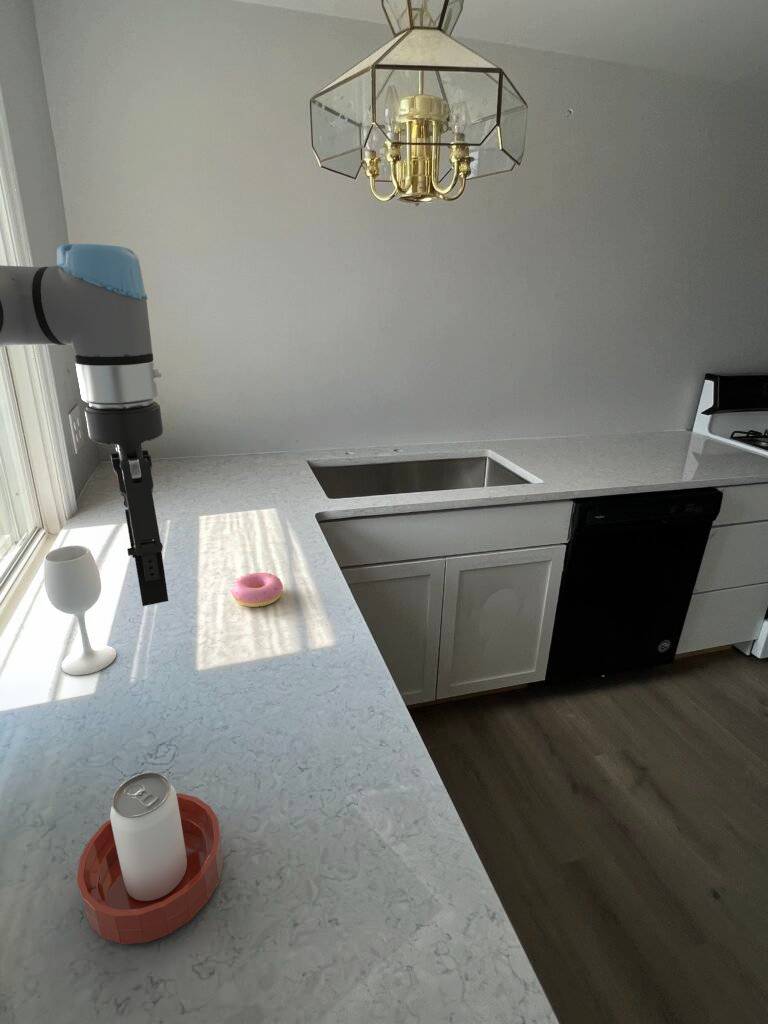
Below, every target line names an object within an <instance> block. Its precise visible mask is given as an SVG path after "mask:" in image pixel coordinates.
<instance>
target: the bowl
mask: <svg viewBox="0 0 768 1024" xmlns="http://www.w3.org/2000/svg"><path fill="white" fill-rule="evenodd" d="M176 795H177V801H178V806H179V812H180V819H181V825H182V831H183V838H184V844H185V851H186V858H187V868H186V872H185V874H184V877H183V878H182V880H181V881H180V883H179V884H178V885H177V886H176V887H175V888H174V889H173V890H172V891H171V892H170V893H168V894H167V895H165V896H163V897H161V898H159V899H156V900H151V901H140V900H137V899H134V898H133V897H131V896H130V895H129V894H128V892H127V890H126V887H125V884H124V880H123V875H122V871H121V866H120V862H119V857H118V853H117V848H116V844H115V839H114V834H113V830H112V825H111V819H110V818H108V819H107V820H106V821H104V822H103V823H102V824H101V826H100V827H99V828H98V829H97V830H96V832H95V833H94V834H93V835H92V836H91V837H90V838H89V840H88V842H87V844H86V846H85V848H84V849H83V851H82V853H81V856H80V858H79V860H78V867H77V873H76V882H77V886H78V890H79V894H80V898H81V903H82V905H83V910H84V913H85V916H86V919H87V923H88V925H89V926H90V927H91V928H92V929H93V930H94V931H95V933H96V934H98V936H100V937H101V938H102V939H104V940H107V941H110V942H114V943H116V944H119V945H130V944H133V945H134V944H146V943H149V942H152V941H155V940H157V939H160V938H163V937H166V936H169V935H170V934H172V933H174V932H175V931H176V930H178V929H179V928H181V927H183V926H184V925H186V924H187V923H189V922H190V921H191V920H192V919H193V918H195V916H196V915H197V914H198V913H199V912H200V911H201V910H202V909H203V908H204V907H205V905H206V904H207V903H208V902H209V900H210V899H211V897H212V895H213V894H214V891H215V890H216V888H217V886H218V885H219V882H220V879H221V876H222V869H223V866H224V855H223V847H222V840H221V833H220V824H219V819H218V817H217V815H216V813H215V812H214V811H213V809H212V807H211V806H210V805H208V803H206V802H205V801H203V800H201V799H200V798H198V797H197V796H193V795H190V794H185V793H182V792H178V793H177V792H176Z"/></svg>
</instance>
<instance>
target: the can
mask: <svg viewBox="0 0 768 1024" xmlns="http://www.w3.org/2000/svg"><path fill="white" fill-rule="evenodd" d="M176 793H177V792H176V789H175V787H174V786H173V784H171V781H170V779H169V778H168V777H167V776H166V775H165V774H163V773H160V772H157V771H146V772H141V773H138V774H136V775H134V776H131V777H129V778H128V779H126V780H125V781H124V782H123V783H121V785H120V786H118V787H117V788H116V790H115V792H114V794H113V796H112V799H111V800H112V801H111V808H110V813H109V819H111V825H112V830H113V834H114V839H115V844H116V848H117V853H118V857H119V862H120V866H121V871H122V875H123V880H124V884H125V887H126V890H127V892H128V894H129V895H130V896H131V897H133V898H134V899H137V900H140V901H151V900H156V899H159V898H161V897H163V896H165V895H167V894H168V893H170V892H171V891H172V890H173V889H174V888H175V887H176V886H177V885H178V884H179V883H180V881H181V880H182V878H183V877H184V874H185V872H186V868H187V858H186V851H185V844H184V838H183V831H182V825H181V819H180V812H179V806H178V801H177V795H176Z"/></svg>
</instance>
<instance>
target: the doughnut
mask: <svg viewBox="0 0 768 1024" xmlns="http://www.w3.org/2000/svg"><path fill="white" fill-rule="evenodd" d="M283 590H284V585H283V582H282V581H281V578H279V577H278V576H277V575H275V574H272V573H268V572H253V573H246V574H245V575H243V576H240V577H239V578H236V580H235V581H234V582H233V585H232V587H231V590H230V592H231V595H232V599H233V600H234V601H235V602H236V603H237V604H239V605H241V606H244V607H248V608H259V606H260V607H265V606H268V605H272V604H273V603H274V602H276V601H278V599H280V597H281V596H282V594H283Z"/></svg>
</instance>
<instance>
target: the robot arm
mask: <svg viewBox="0 0 768 1024" xmlns="http://www.w3.org/2000/svg"><path fill="white" fill-rule="evenodd" d="M55 263H56V265H50V266H25V265H24V266H23V265H1V264H0V348H2V347H10V346H51V345H52V346H55V345H57V346H70V345H71V346H72V349H73V353H74V358H75V368H76V375H77V379H78V385H79V390H80V396H81V400H82V401H83V402H85V403H87V404H88V405H87V406H86V407H85V408H84V415H85V420H86V426H87V433H88V437H89V439H90V440H91V441H92V442H94V443H97V444H102V445H115V450H116V452H112V453H110V459H111V465H112V469H113V473H114V476H115V477H116V479H117V483H118V484H117V485H118V490H119V494H120V496H121V497H123V506H124V507H125V509H124V513H125V519H126V525H127V526H126V527H127V531H128V538H129V543H130V547H128V548H126V551H127V556H128V557H130V556H132V559H134V562H135V569H136V575H137V578H138V579H137V580H138V587H139V593H140V598H141V599H140V600H141V603H142V604H141V606H142V607H146V606H151V605H156V604H160V603H166V602H169V594H168V588H167V580H166V574H165V567H164V566H165V565H164V559H163V553H162V552H163V548H164V545H163V543H162V542H161V536H160V530H159V525H158V519H157V514H156V507H155V502H154V495H153V493H154V487H155V486H154V481H153V476H152V471H153V462H152V458H151V454H149V450H148V449H143V448H142V444H143V443H144V442H146V441H149V442H151V441H153V440H157V439H158V438H160V437H161V436H162V435H163V433H164V427H163V419H162V412H161V411H162V410H161V405H160V404H158V402H157V401H154V400H155V399H157V397H158V396H159V394H158V385H157V382H156V381H155V379H161V378H162V371H161V369H158V368H154V367H155V364H154V354H153V346H152V337H151V328H150V318H149V311H148V310H149V309H148V301H147V300H148V295H147V293H146V290H145V284H144V279H143V274H142V268H141V262H140V259H139V257H138V255H137V254H136V253H135V252H134V251H133V250H131V248H129V247H126V246H125V247H124V246H120V245H112V244H97V243H73V244H72V243H65V244H61V245H59V246H58V248H56V261H55Z"/></svg>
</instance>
